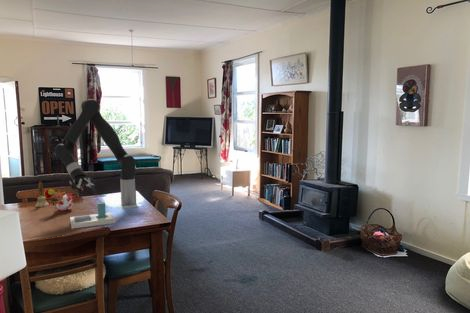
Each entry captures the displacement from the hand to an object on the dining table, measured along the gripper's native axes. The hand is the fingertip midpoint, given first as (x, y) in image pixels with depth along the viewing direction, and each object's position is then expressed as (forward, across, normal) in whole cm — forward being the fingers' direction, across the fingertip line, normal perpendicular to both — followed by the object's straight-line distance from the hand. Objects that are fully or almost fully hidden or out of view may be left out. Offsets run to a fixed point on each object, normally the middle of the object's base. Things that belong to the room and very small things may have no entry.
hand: (88, 193), depth 207 cm
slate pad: (+13, -9, +4) cm, 16 cm away
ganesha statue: (-10, 0, +32) cm, 33 cm away
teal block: (+18, 0, +2) cm, 18 cm away
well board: (+17, -4, +5) cm, 18 cm away
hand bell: (-27, +2, +49) cm, 56 cm away
